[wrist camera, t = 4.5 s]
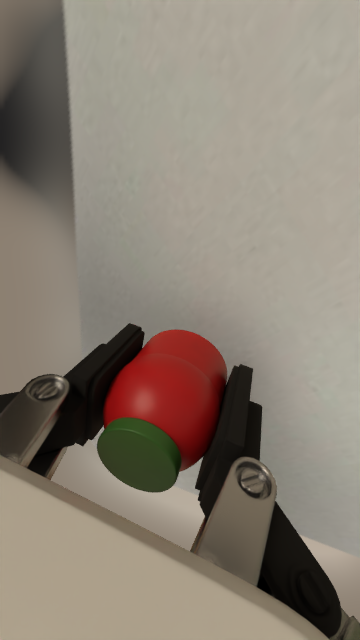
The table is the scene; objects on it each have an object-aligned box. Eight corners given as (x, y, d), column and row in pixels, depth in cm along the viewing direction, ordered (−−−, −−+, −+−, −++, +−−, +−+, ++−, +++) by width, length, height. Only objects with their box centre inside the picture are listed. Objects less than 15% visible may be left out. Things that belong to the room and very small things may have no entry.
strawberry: (124, 359, 13) (52, 440, 9) (180, 307, 11) (122, 381, 7) (184, 418, 13) (144, 521, 9) (250, 379, 11) (237, 491, 7)
